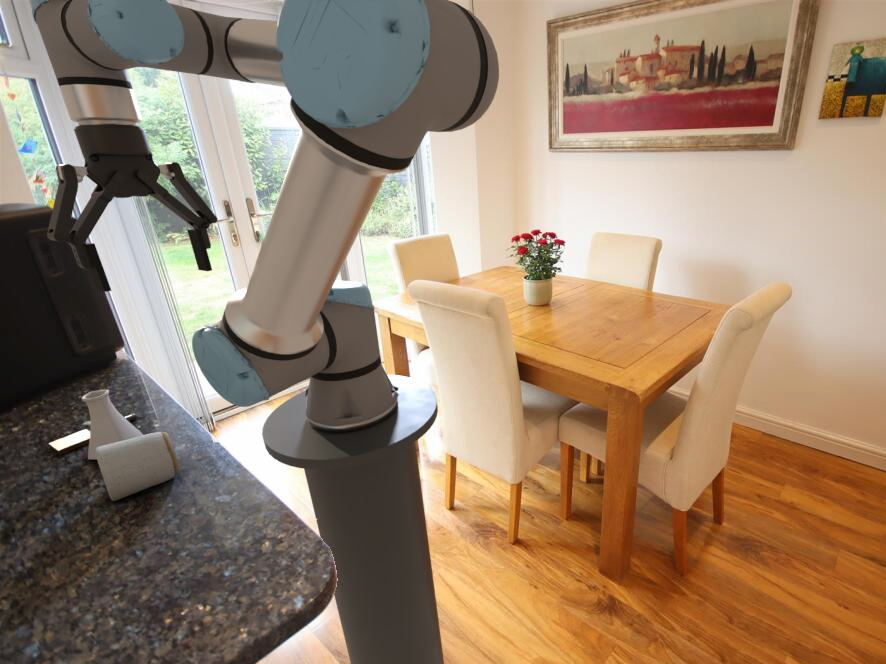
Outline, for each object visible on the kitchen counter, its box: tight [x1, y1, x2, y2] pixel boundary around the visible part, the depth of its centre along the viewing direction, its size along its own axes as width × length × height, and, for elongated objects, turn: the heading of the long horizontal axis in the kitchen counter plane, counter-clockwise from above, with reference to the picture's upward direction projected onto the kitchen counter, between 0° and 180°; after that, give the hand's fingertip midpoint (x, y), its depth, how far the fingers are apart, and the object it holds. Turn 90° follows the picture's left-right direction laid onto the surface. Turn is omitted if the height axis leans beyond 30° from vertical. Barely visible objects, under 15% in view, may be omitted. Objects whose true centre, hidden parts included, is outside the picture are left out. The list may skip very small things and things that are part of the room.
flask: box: [81, 389, 144, 460], centre depth 73 cm, size 7×7×10 cm
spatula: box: [48, 413, 138, 456], centre depth 79 cm, size 12×4×1 cm, turn 149°
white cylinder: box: [96, 431, 181, 502], centre depth 66 cm, size 11×8×8 cm
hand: (158, 279), depth 70 cm, fingers open, 13 cm apart
